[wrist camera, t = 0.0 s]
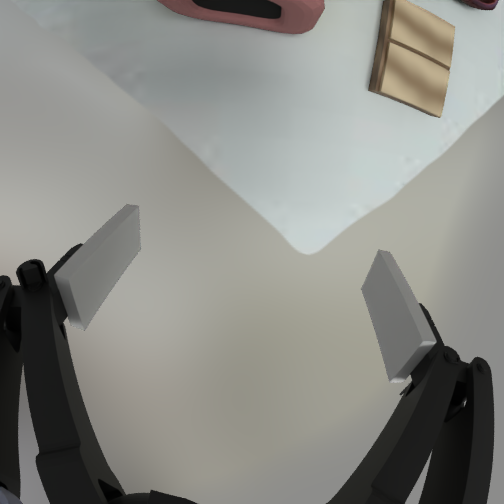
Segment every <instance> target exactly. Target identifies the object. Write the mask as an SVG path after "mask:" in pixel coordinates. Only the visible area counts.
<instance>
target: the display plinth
mask: <svg viewBox="0 0 504 504" xmlns="http://www.w3.org/2000/svg"><path fill="white" fill-rule="evenodd" d="M454 32H455V26H453V25H451V24H450V23H448V22H446V21H445V20H443V19H441V18H439V17H438V16H436V15H434V14H432V13H430V12H428V11H427V10H425V9H423V8H421V7H419V6H417V5H415V4H413V3H410V2H408V1H406V0H385V1H383V8H382V15H381V23H380V29H379V36H378V42H377V48H376V54H375V59H374V65H373V70H372V75H371V80H370V85H369V90H368V91H371V92H374V93H377V94H379V95H382V96H385V97H388V98H390V99H393V100H395V101H398V102H400V103H403V104H405V105H408V106H410V107H412V108H415V109H417V110H419V111H421V112H424V113H426V114H428V115H430V116H434V117H438V118H440V117H441V115H442V110H443V106H444V101H445V96H446V91H447V86H448V80H449V74H450V71H449V69H450V67H451V60H452V52H453V43H454Z"/></svg>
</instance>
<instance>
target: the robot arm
mask: <svg viewBox="0 0 504 504" xmlns="http://www.w3.org/2000/svg"><path fill="white" fill-rule="evenodd" d="M140 250H141V243H140V220H139V206H137V205H129V204H127V205H125V206H124V207H123V208H122V209H121V210H120V211H119V212H117V214H115V215H114V216H113V217H112V218H111V219H110V220H109V221H107V222H106V223H105V224H104V225H103V226H102V227H101V228H100V229H99V230H98V231H97V232H96V233H95V234H94V235H93V236H92V237H91V238H89V239H88V240H87V241H86V242H85V243H84V244H81V243H80V244H78V245H76V246H74V247H73V248H71V249H70V250H69V251H68V252H67V253H66V254H65V256H63V257H62V258H61V259H60V261H58V262H57V263H56V264H55V265H54V266H53V267H52V268H51V269H50V270H49V271H48V272H47V273H46V271H45V267H44V264H43V262H42V261H41V260H37V259H33V260H29V261H26V262H24V263H23V264H21V265H20V266H19V267H18V268H17V271H16V274H17V277H18V280H19V282H20V285H21V286H18V285H17V286H16V285H12V283H11V280H10V278H9V277H8V276H4V275H2V276H0V504H22V502H21V501H20V468H19V451H18V412H19V395H20V384H21V375H22V367H23V365H24V375H25V383H26V390H27V396H28V402H29V408H30V413H31V418H32V422H33V427H34V431H35V435H36V439H37V443H38V447H39V454H38V455H37V456H36V465H37V470H38V473H39V476H40V479H41V481H42V484H43V487H44V490H45V492H46V495H47V497H48V500H49V502H50V504H197V503H195V502H193V501H190V500H188V499H186V498H181V497H177V496H173V495H169V494H164V493H161V492H157V491H153V490H151V491H150V493H134V494H128V495H126V494H125V492H124V490H123V489H122V487H121V485H120V483H119V481H118V480H117V478H116V476H115V475H114V473H113V472H112V471H111V469H110V467H109V466H108V464H107V462H106V459H105V457H104V455H103V453H102V450H101V448H100V446H99V443H98V441H97V438H96V436H95V433H94V430H93V428H92V425H91V423H90V420H89V417H88V414H87V411H86V408H85V405H84V402H83V399H82V396H81V392H80V389H79V385H78V382H77V378H76V374H75V370H74V366H73V362H72V358H71V354H70V349H69V344H68V340H67V334H66V329H65V326H64V323H63V322H64V320H65V319H66V318H67V316H68V319H69V322H70V324H71V326H73V327H76V328H79V329H81V330H84V331H85V329H86V328H87V326H88V325H89V323H90V321H91V320H92V318H93V317H94V315H95V314H96V312H97V311H98V309H99V308H100V306H101V305H102V303H103V302H104V300H105V299H106V297H107V296H108V294H109V293H110V291H111V290H112V289H113V287H114V286H115V284H116V282H117V281H118V280H119V278H120V277H121V276H122V274H123V273H124V271H125V270H126V269H127V267H128V266H129V265H130V263H131V262H132V260H133V259H134V258H135V256H136V255H137V254H138V252H139V251H140ZM361 290H362V292H363V295H364V298H365V301H366V304H367V307H368V310H369V313H370V317H371V320H372V323H373V326H374V329H375V332H376V335H377V339H378V342H379V346H380V349H381V353H382V356H383V360H384V364H385V367H386V371H387V375H388V379H389V382H404V381H405V379H406V378H407V377H408V376H409V375H411V378H412V381H411V383H410V384H409V385H408V386H407V387H406V388H405V389H404V390H403V391H402V392H401V393H400V395H402V394H403V393H404V394H403V396H402V398H401V400H400V402H399V404H398V405H397V407H396V409H395V411H394V412H393V414H392V416H391V418H390V419H389V421H388V423H387V424H386V426H385V428H384V429H383V431H382V432H381V434H380V435H379V437H378V439H377V440H376V442H375V443H374V445H373V446H372V448H371V449H370V450H369V452H368V453H367V455H366V456H365V458H364V459H363V460H362V462H361V463H360V465H359V466H358V467H357V469H356V470H355V471H354V473H353V474H352V475H351V476H350V478H349V479H348V480H347V482H346V483H345V484H344V485H343V486H342V488H341V489H340V490H339V492H338V493H337V494H336V495H335V496H334V497H333V498H332V499H331V500H330V501H329V502H328V503H326V504H405V502H406V500H407V498H408V496H409V494H410V493H411V491H412V489H413V487H414V485H415V484H416V482H417V480H418V478H419V476H420V474H421V472H422V470H423V468H424V466H425V464H426V462H427V460H428V458H429V456H430V453H431V451H432V455H431V459H430V464H429V468H428V472H427V476H426V480H425V483H424V488H423V491H422V494H421V498H420V500H419V504H487V499H488V493H489V487H490V480H491V472H492V462H493V449H494V447H493V446H494V400H493V385H492V374H491V369H490V367H489V365H488V363H487V362H486V361H485V360H484V359H482V358H480V357H475V358H474V359H473V360H472V362H471V363H470V364H469V363H466V362H463V361H461V360H460V357H459V355H458V354H457V352H456V351H455V350H454V349H452V348H450V347H448V346H444V343H443V341H442V339H441V337H440V335H439V333H438V331H437V329H436V327H435V326H434V325H435V324H434V322H433V320H431V316H430V314H429V312H428V311H427V309H425V307H424V306H423V305H422V304H421V303H418V301H417V300H416V298H415V296H414V294H413V292H412V290H411V288H410V286H409V284H408V283H407V281H406V279H405V277H404V275H403V274H402V272H401V270H400V268H399V267H398V265H397V263H396V261H395V260H394V258H393V256H392V254H391V253H390V252H387V251H383V250H378V252H377V255H376V257H375V259H374V262H373V264H372V266H371V269H370V271H369V273H368V275H367V277H366V280H365V282H364V284H363V286H362V288H361ZM465 401H466V404H465V406H464V402H465Z"/></svg>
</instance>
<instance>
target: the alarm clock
mask: <svg viewBox="0 0 504 504" xmlns="http://www.w3.org/2000/svg"><path fill="white" fill-rule="evenodd" d="M157 1H159V2H160V3H162V4H163V5H165V6H166V7H168V8H169V9H171V10H172V11H174V12H176V13H179V14H182V15H185V16H189V17H193V18H198V19H203V20H210V21H217V22H225V23H232V24H238V25H244V26H250V27H255V28H260V29H265V30H271V31H276V32H281V33H290V34H302V33H305V32H307V31H309V30H311V29H313V27H314V26H315V24H316V23H317V21H318V19H319V17H320V16H321V14H322V12H323V11H324V9H325V6H324V0H157Z"/></svg>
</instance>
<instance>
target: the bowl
mask: <svg viewBox="0 0 504 504" xmlns="http://www.w3.org/2000/svg"><path fill="white" fill-rule="evenodd" d="M461 1H462V2H464V3H465V4H467V5H469V6H471V7H474V8H477V9H481V10H493V9H494V8H495V6H496V5H497V3H498V1H499V0H461Z"/></svg>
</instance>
